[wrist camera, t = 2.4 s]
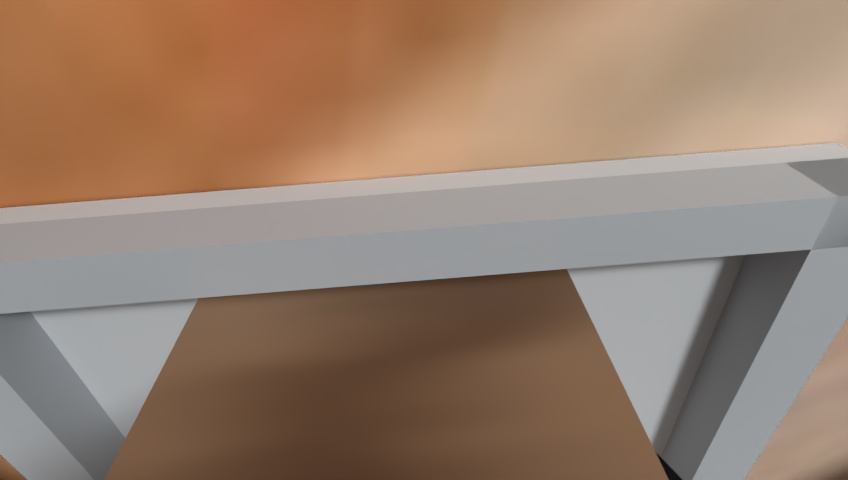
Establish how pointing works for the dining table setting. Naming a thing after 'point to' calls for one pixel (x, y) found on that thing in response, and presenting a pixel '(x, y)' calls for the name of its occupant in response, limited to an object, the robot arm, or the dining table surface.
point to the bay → (439, 259)
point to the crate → (391, 388)
